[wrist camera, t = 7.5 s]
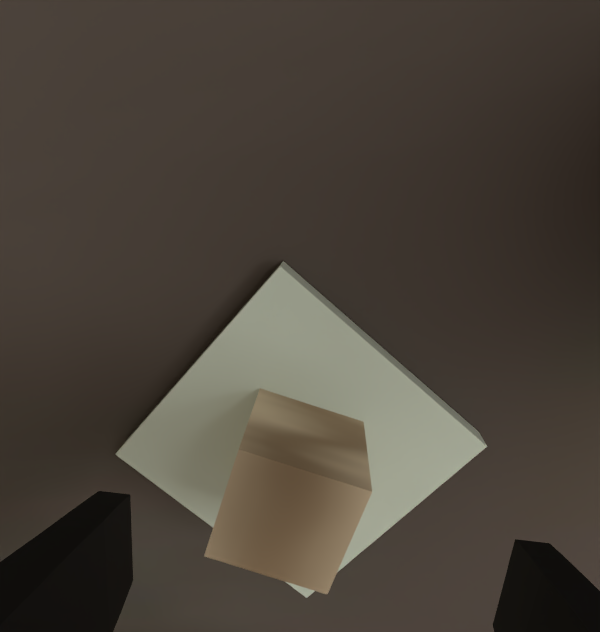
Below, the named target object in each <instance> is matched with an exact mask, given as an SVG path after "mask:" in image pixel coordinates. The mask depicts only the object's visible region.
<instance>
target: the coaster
mask: <svg viewBox="0 0 600 632" xmlns="http://www.w3.org/2000/svg"><path fill="white" fill-rule="evenodd" d="M260 388H261V389H264V390H267V391H270V392H273V393H276V394H279V395H282V396H285V397H289V398H292V399H295V400H298V401H301V402H304V403H307V404H310V405H313V406H316V407H320V408H323V409H326V410H329V411H332V412H335V413H338V414H341V415H344V416H348V417H351V418H354V419H357V420H360V421H363V422H364V429H365V437H366V445H367V453H368V461H369V469H370V477H371V486H372V494H371V496H370V498H369V500H368V503H367V505H366V507H365V510H364V512H363V514H362V516H361V519H360V521H359V523H358V526H357V528H356V530H355V532H354V535H353V537H352V539H351V542H350V544H349V546H348V548H347V551H346V553H345V555H344V558H343V560H342V562H341V564H340V567H339V569H338V571H339V570H341V569H342V568H343V567H344V566H345V565H347V564H348V563H349V562H350V561H351V560H352V559H354V558H355V557H356V556H357V555H358V554H360V553H361V552H362V551H363V550H364V549H366V548H367V547H368V546H369V545H370V544H372V543H373V542H374V541H375V540H376V539H377V538H379V537H380V536H381V535H382V534H383V533H385V532H386V531H387V530H388V529H389V528H391V527H392V526H393V525H394V524H395V523H397V522H398V521H399V520H400V519H401V518H402V517H404V516H405V515H406V514H407V513H408V512H410V511H411V510H412V509H413V508H414V507H416V506H417V505H418V504H419V503H420V502H422V501H423V500H424V499H425V498H426V497H427V496H429V495H430V494H431V493H432V492H433V491H435V490H436V489H437V488H438V487H439V486H441V485H442V484H443V483H444V482H445V481H447V480H448V479H449V478H450V477H451V476H453V475H454V474H455V473H456V472H457V471H458V470H460V469H461V468H462V467H463V466H464V465H466V464H467V463H468V462H469V461H470V460H472V459H473V458H474V457H475V456H476V455H478V454H479V453H480V452H481V451H482V450H483V449H485V448H486V447H487V445H486V443H485V442H484V440H483V438H482V436H481V435H480V433H479V432H478V431H477V430H476V429H475V428H474V427H473V426H471V425H470V424H469V423H468V422H467V421H466V420H465V419H463V418H462V417H461V416H460V415H459V414H458V413H457V412H455V411H454V410H453V409H452V408H451V407H450V406H449V405H447V404H446V403H445V402H444V401H443V400H442V399H441V398H439V397H438V396H437V395H436V394H435V393H434V392H433V391H431V390H430V389H429V388H428V387H427V386H426V385H425V384H423V383H422V382H421V381H420V380H419V379H418V378H416V377H415V376H414V375H413V374H412V373H411V372H410V371H408V370H407V369H406V368H405V367H404V366H403V365H402V364H400V363H399V362H398V361H397V360H396V359H395V358H394V357H392V356H391V355H390V354H389V353H388V352H387V351H386V350H384V349H383V348H382V347H381V346H380V345H379V344H378V343H376V342H375V341H374V340H373V339H372V338H371V337H370V336H368V335H367V334H366V333H365V332H364V331H363V330H362V329H360V328H359V327H358V326H357V325H356V324H355V323H354V322H352V321H351V320H350V319H349V318H348V317H347V316H346V315H344V314H343V313H342V312H341V311H340V310H339V309H338V308H336V307H335V306H334V305H333V304H332V303H331V302H330V301H328V300H327V299H326V298H325V297H324V296H323V295H322V294H320V293H319V292H318V291H317V290H316V289H315V288H313V287H312V286H311V285H310V284H309V283H308V282H307V281H305V280H304V279H303V278H302V277H301V276H300V275H299V274H297V273H296V272H295V271H294V270H293V269H292V268H291V267H289V266H288V265H287V264H286V263H285V262H284V261H283V262H282V263H281V264H280V265H279V266H278V267H277V269H276V270H275V271H274V272H273V273H272V274H271V275H270V277H269V278H268V279H267V280H266V281H265V282H264V283H263V285H262V286H261V287H260V288H259V289H258V290H257V291H256V293H255V294H254V295H253V296H252V297H251V298H250V299H249V301H248V302H247V303H246V304H245V305H244V306H243V307H242V309H241V310H240V311H239V312H238V313H237V314H236V315H235V317H234V318H233V319H232V320H231V321H230V322H229V323H228V325H227V326H226V327H225V328H224V329H223V330H222V331H221V333H220V334H219V335H218V336H217V337H216V338H215V339H214V341H213V342H212V343H211V344H210V345H209V346H208V347H207V349H206V350H205V351H204V352H203V353H202V354H201V355H200V357H199V358H198V359H197V360H196V361H195V362H194V363H193V365H192V366H191V367H190V368H189V369H188V370H187V371H186V373H185V374H184V375H183V376H182V377H181V378H180V379H179V381H178V382H177V383H176V384H175V385H174V386H173V387H172V389H171V390H170V391H169V392H168V393H167V394H166V395H165V397H164V398H163V399H162V400H161V401H160V402H159V403H158V405H157V406H156V407H155V408H154V409H153V410H152V411H151V413H150V414H149V415H148V416H147V417H146V418H145V419H144V421H143V422H142V423H141V424H140V425H139V426H138V427H137V429H136V430H135V431H134V432H133V433H132V434H131V435H130V437H129V438H128V439H127V440H126V441H125V443H124V444H123V445H122V446H121V448H120V449H119V450H118V451H117V453H116V454H115V455H117V456H118V457H119V458H121V459H122V460H123V461H125V462H126V463H127V464H129V465H130V466H131V467H133V468H134V469H135V470H137V471H138V472H139V473H141V474H142V475H143V476H145V477H146V478H147V479H149V480H150V481H151V482H153V483H154V484H155V485H157V486H158V487H159V488H161V489H162V490H163V491H165V492H166V493H167V494H169V495H170V496H171V497H173V498H174V499H175V500H177V501H178V502H179V503H181V504H182V505H183V506H185V507H186V508H187V509H189V510H190V511H191V512H193V513H194V514H195V515H197V516H198V517H199V518H201V519H202V520H203V521H205V522H206V523H207V524H209V525H210V526H211V527H214V524H215V521H216V518H217V515H218V512H219V509H220V505H221V502H222V499H223V496H224V493H225V490H226V487H227V484H228V481H229V478H230V475H231V471H232V468H233V465H234V462H235V459H236V456H237V453H238V450H239V447H240V444H241V441H242V438H243V435H244V432H245V430H246V427H247V424H248V421H249V418H250V415H251V412H252V409H253V406H254V404H255V401H256V398H257V395H258V392H259V389H260ZM338 571H337V572H338ZM286 583H288V582H286ZM288 584H289V585H290V586H292V587H293V588H294V589H296V590H297V591H298V592H300V593H301V594H302V595H304V596H305V597H306V598H307V597H308V596H310V595H311V594H312V593H313V592H314V590H311V589H308V588H304V587H301V586H298V585H295V584H292V583H288Z"/></svg>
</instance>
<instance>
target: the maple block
mask: <svg viewBox="0 0 600 632" xmlns="http://www.w3.org/2000/svg"><path fill="white" fill-rule="evenodd" d="M371 494H372V486H371V477H370V469H369V461H368V453H367V445H366V437H365V429H364V422H363V421H360V420H357V419H354V418H351V417H348V416H344V415H341V414H338V413H335V412H332V411H329V410H326V409H323V408H320V407H316V406H313V405H310V404H307V403H304V402H301V401H298V400H295V399H292V398H289V397H285V396H282V395H279V394H276V393H273V392H270V391H267V390H264V389H261V388H260V389H259V392H258V395H257V398H256V401H255V404H254V406H253V409H252V412H251V415H250V418H249V421H248V424H247V427H246V430H245V432H244V435H243V438H242V441H241V444H240V447H239V450H238V453H237V456H236V459H235V462H234V465H233V468H232V471H231V475H230V478H229V481H228V484H227V487H226V490H225V493H224V496H223V499H222V502H221V505H220V509H219V512H218V515H217V518H216V521H215V524H214V527H213V530H212V533H211V536H210V540H209V543H208V546H207V549H206V552H205V555H204V556H205V557H208V558H211V559H215V560H218V561H221V562H224V563H227V564H231V565H234V566H237V567H240V568H244V569H247V570H250V571H253V572H256V573H260V574H263V575H266V576H269V577H272V578H276V579H279V580H282V581H285V582H288V583H292V584H295V585H298V586H301V587H304V588H308V589H311V590H314V591H317V592H320V593H324V594H328V592H329V589H330V587H331V585H332V583H333V580H334V578H335V576H336V574H337V571H338V569H339V567H340V564H341V562H342V560H343V558H344V555H345V553H346V551H347V548H348V546H349V544H350V542H351V539H352V537H353V535H354V532H355V530H356V528H357V526H358V523H359V521H360V519H361V516H362V514H363V512H364V510H365V507H366V505H367V503H368V500H369V498H370V496H371Z"/></svg>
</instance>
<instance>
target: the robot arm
mask: <svg viewBox="0 0 600 632" xmlns="http://www.w3.org/2000/svg"><path fill="white" fill-rule="evenodd" d="M132 581H133V567H132V537H131V507H130V495H128V494H119V493H111V492H102V491H98V492H97V493H96V494H94V495H93V496H91V497H90V498H88V499H87V500H86V501H84V502H83V503H81V504H80V505H79V506H77V507H76V508H75V509H73V510H72V511H70V512H69V513H68V514H66V515H65V516H64V517H62V518H61V519H60V520H58V521H57V522H55V523H54V524H53V525H51V526H50V527H49V528H47V529H46V530H44V531H43V532H42V533H40V534H39V535H38V536H36V537H35V538H33V539H32V540H31V541H29V542H28V543H26V544H25V545H24V546H22V547H21V548H19V549H18V550H17V551H15V552H14V553H12V554H11V555H10V556H8V557H7V558H5V559H4V560H2V561H1V562H0V632H113V630H114V628H115V625H116V623H117V620H118V618H119V615H120V613H121V610H122V608H123V605H124V602H125V600H126V597H127V594H128V592H129V589H130V587H131V584H132ZM493 628H494V632H600V591H599V590H598V589H597V588H596V587H595V586H594V585H593V584H592V583H591V582H590V581H589V580H588V579H587V578H586V577H585V576H584V575H583V574H582V573H581V572H579V571H578V570H577V569H576V568H575V567H574V566H573V565H572V564H571V563H570V562H569V561H568V560H567V559H566V558H565V557H564V556H563V555H562V554H561V553H559V552H558V551H557V550H556V549H555V548H554V547H553V546H552V545H551V544H549V543H541V542H533V541H524V540H516V539H515V542H514V546H513V550H512V554H511V558H510V561H509V565H508V569H507V573H506V577H505V581H504V584H503V588H502V592H501V596H500V600H499V604H498V608H497V611H496V615H495V619H494V623H493Z"/></svg>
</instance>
